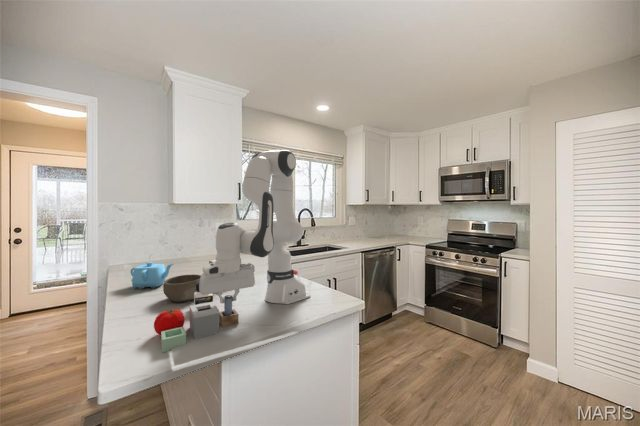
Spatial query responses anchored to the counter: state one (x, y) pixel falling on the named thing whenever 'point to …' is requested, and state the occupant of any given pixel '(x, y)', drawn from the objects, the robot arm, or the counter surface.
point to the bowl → (181, 287)
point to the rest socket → (172, 338)
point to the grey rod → (228, 305)
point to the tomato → (169, 320)
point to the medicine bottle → (201, 297)
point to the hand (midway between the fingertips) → (228, 301)
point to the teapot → (149, 275)
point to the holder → (228, 318)
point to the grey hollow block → (204, 319)
